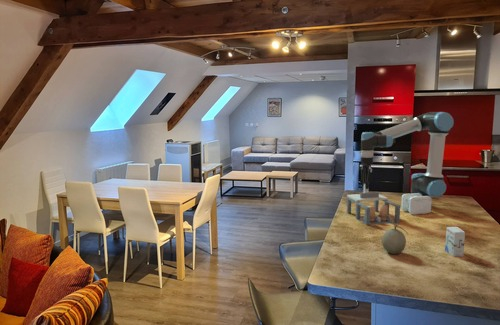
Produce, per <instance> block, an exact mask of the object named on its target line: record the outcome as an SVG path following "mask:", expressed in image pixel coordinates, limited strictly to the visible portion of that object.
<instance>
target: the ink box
mask: <svg viewBox="0 0 500 325" xmlns="http://www.w3.org/2000/svg"><path fill="white" fill-rule="evenodd" d="M465 238H466V232H465V231H464V230H462V229H461V228H460V227H458V226H447V227H446V233H445V246H444V251H446V252H447V253H448V254H450V255H451V257H464V254H465V252H464V250H465Z"/></svg>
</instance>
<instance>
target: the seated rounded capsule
mask: <svg viewBox="0 0 500 325" xmlns="http://www.w3.org/2000/svg"><path fill="white" fill-rule="evenodd" d="M367 206H368V207H370V222H375V216H376V212H375V206H374V205H372V204H370V205H367Z"/></svg>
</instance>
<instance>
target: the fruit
mask: <svg viewBox="0 0 500 325" xmlns="http://www.w3.org/2000/svg"><path fill="white" fill-rule="evenodd" d="M387 220H388V219H387ZM388 221H390V220H388ZM390 222H391V221H390ZM390 224H392V225H393V226H394V227H393V228H390V229H387V230H386V231H385V232H384V233H383V235H382V237H381V238H382V239H381V243H382V247H383V249H384V250H385V251H386V252H387V253H389V254H392V255H398V254H401V253H402V252H403V251H404V250H405V247H406V245H407V239H406V236H405V234H404V232H405V233H406V234H407V235H409V233H408V232H407V231H406V230H405V229H404V228H403V227H401V226H399V225H397V224H396V223H393V222H391V223H390ZM398 228H399V229H398ZM401 230H403V231H404V232H403V231H401Z"/></svg>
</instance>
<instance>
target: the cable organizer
mask: <svg viewBox="0 0 500 325" xmlns="http://www.w3.org/2000/svg"><path fill="white" fill-rule="evenodd" d="M431 203H432V196H422V194H420V193H412V194H411V193H404V194H402V195H401V204H400V210H402V211H404V212H408V213H409V214H411V215H413V216H415V215H419V214H421V215H425V214H429V213H431V211H432V207H431Z"/></svg>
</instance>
